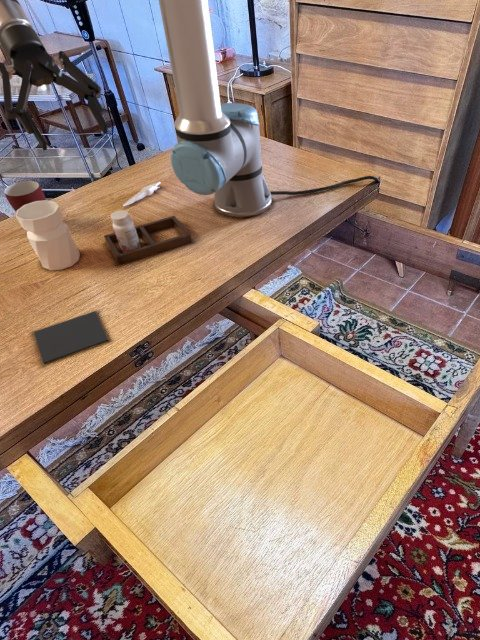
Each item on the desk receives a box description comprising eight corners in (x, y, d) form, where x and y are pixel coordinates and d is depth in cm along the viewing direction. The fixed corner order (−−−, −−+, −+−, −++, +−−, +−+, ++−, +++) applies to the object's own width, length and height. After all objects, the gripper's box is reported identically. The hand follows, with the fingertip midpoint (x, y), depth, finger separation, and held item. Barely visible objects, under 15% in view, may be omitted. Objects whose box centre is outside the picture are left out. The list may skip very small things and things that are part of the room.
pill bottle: (117, 248, 106) (104, 215, 99) (133, 240, 108) (122, 207, 102) (128, 256, 104) (116, 222, 97) (145, 247, 106) (134, 213, 99)
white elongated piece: (157, 185, 127) (155, 178, 126) (164, 187, 126) (162, 180, 125) (119, 208, 119) (117, 201, 117) (127, 210, 118) (124, 203, 117)
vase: (36, 271, 100) (8, 221, 91) (48, 249, 106) (23, 200, 97) (74, 269, 100) (50, 219, 91) (85, 248, 106) (63, 199, 97)
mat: (95, 312, 91) (95, 311, 90) (108, 340, 85) (108, 339, 85) (34, 333, 87) (33, 331, 86) (44, 364, 81) (43, 362, 81)
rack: (176, 222, 113) (174, 215, 112) (192, 242, 107) (190, 234, 106) (106, 243, 108) (103, 235, 106) (119, 265, 101) (116, 257, 100)
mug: (10, 229, 112) (-12, 190, 105) (35, 215, 117) (16, 176, 109) (40, 238, 109) (20, 198, 102) (64, 223, 114) (47, 184, 106)
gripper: (76, 40, 99) (127, 133, 103) (-44, 61, 89) (19, 163, 93) (76, 12, 92) (131, 113, 96) (-54, 32, 82) (14, 144, 86)
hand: (76, 138), depth 95 cm, fingers open, 13 cm apart
